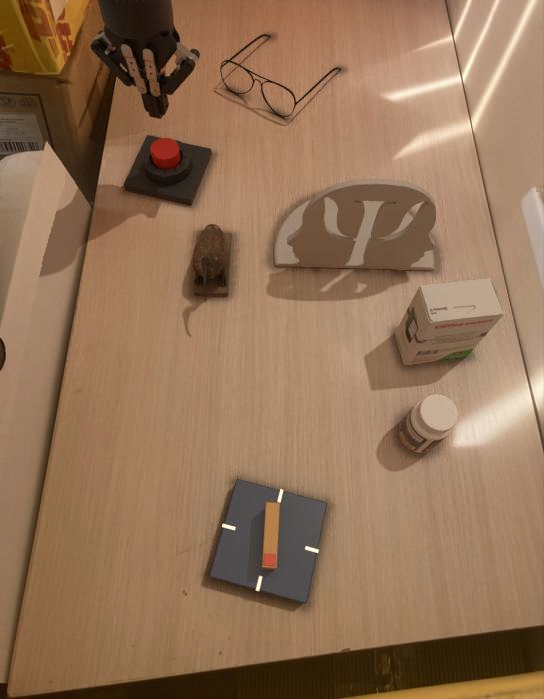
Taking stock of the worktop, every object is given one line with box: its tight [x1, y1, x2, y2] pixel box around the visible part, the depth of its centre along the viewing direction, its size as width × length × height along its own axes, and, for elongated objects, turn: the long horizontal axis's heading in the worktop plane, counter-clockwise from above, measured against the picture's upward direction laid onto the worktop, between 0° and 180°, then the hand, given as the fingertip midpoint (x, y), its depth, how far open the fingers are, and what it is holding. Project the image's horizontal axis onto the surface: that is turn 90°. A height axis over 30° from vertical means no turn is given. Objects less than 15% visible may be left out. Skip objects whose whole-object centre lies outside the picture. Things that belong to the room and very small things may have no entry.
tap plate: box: [209, 478, 328, 604], centre depth 57 cm, size 10×10×3 cm
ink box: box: [394, 277, 506, 366], centre depth 63 cm, size 9×5×12 cm, turn 98°
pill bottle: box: [398, 393, 459, 454], centre depth 60 cm, size 5×5×8 cm
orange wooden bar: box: [262, 502, 280, 570], centre depth 53 cm, size 6×1×4 cm, turn 177°
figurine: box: [192, 223, 232, 302], centre depth 68 cm, size 14×4×9 cm, turn 179°
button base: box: [123, 134, 213, 206], centre depth 78 cm, size 10×10×3 cm
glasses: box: [219, 33, 342, 118], centre depth 87 cm, size 14×15×5 cm
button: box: [150, 137, 181, 170], centre depth 76 cm, size 4×4×2 cm
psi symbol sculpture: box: [273, 177, 437, 271], centre depth 68 cm, size 22×13×17 cm, turn 89°
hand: (157, 113), depth 69 cm, fingers closed
